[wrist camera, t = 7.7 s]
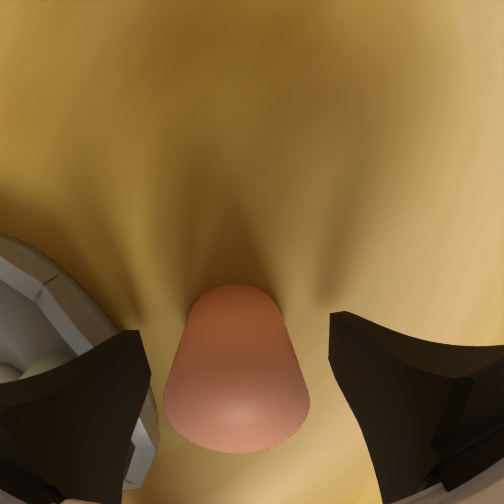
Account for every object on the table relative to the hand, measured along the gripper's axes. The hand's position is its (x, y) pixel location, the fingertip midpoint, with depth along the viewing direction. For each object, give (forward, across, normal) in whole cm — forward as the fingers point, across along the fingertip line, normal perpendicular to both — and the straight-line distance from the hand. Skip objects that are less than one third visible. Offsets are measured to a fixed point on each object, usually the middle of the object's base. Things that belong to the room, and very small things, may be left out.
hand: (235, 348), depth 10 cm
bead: (+2, 0, 0) cm, 2 cm away
